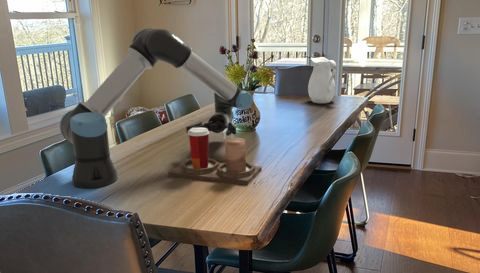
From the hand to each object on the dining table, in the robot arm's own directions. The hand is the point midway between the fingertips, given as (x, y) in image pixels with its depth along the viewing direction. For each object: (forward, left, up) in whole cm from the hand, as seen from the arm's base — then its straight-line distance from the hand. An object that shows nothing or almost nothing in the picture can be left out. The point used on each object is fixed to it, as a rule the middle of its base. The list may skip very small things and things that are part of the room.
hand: (205, 135), depth 170 cm
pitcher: (+130, -22, -11) cm, 132 cm away
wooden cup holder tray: (-9, -8, -11) cm, 16 cm away
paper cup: (-9, -2, -9) cm, 13 cm away
